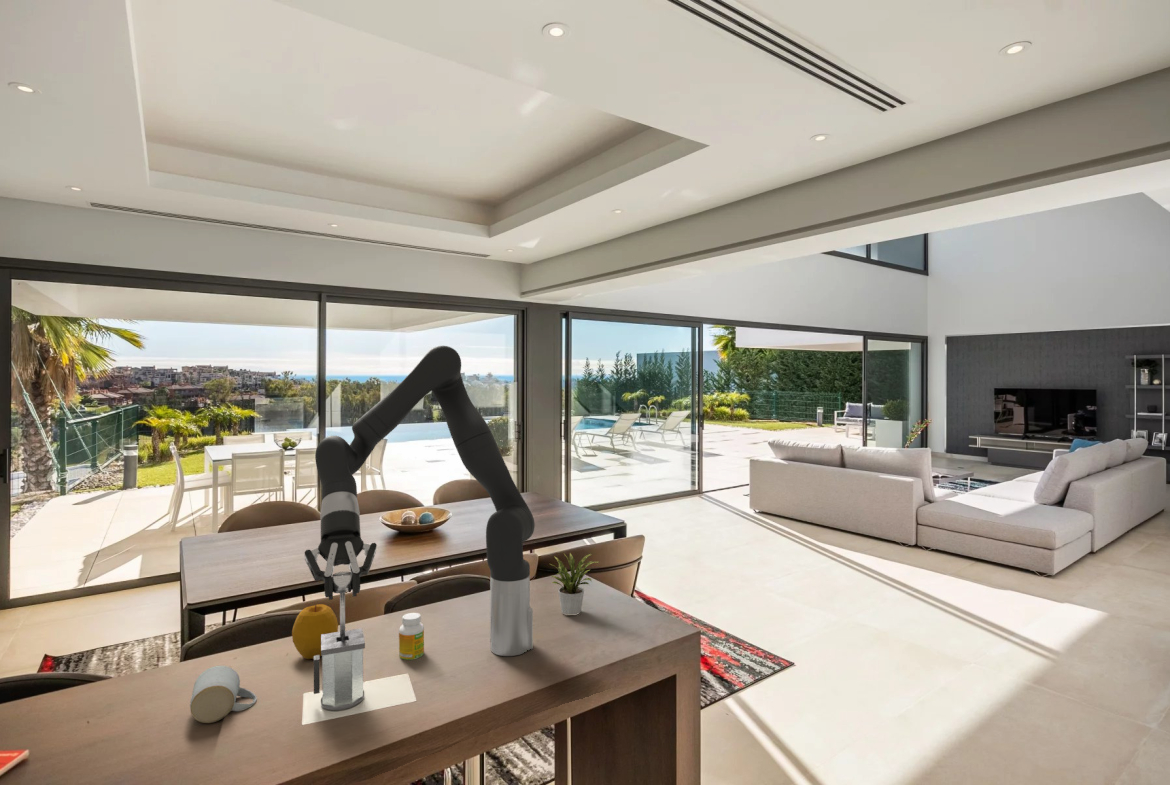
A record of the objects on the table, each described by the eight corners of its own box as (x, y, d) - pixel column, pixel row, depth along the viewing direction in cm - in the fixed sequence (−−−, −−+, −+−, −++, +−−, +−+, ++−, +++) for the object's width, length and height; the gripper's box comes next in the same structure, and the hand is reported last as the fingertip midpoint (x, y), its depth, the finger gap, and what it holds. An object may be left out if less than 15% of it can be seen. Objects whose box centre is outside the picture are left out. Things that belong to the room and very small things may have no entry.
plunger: (356, 640, 118) (356, 568, 118) (358, 651, 114) (358, 576, 113) (327, 645, 116) (326, 572, 116) (327, 656, 111) (327, 580, 111)
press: (362, 686, 120) (362, 627, 120) (365, 705, 113) (365, 643, 113) (314, 696, 116) (313, 635, 116) (313, 716, 109) (313, 651, 109)
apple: (319, 668, 130) (319, 615, 130) (281, 663, 132) (281, 611, 132) (346, 649, 139) (346, 599, 139) (310, 645, 142) (310, 596, 141)
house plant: (606, 605, 168) (606, 547, 167) (596, 624, 154) (596, 561, 154) (557, 601, 171) (557, 544, 171) (543, 619, 157) (543, 558, 157)
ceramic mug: (188, 730, 107) (188, 688, 107) (193, 708, 114) (194, 668, 114) (255, 716, 111) (256, 675, 111) (257, 696, 119) (257, 658, 119)
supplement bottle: (416, 665, 132) (416, 621, 132) (394, 662, 133) (394, 619, 133) (428, 654, 137) (428, 612, 137) (406, 652, 138) (406, 610, 138)
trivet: (407, 678, 126) (407, 673, 126) (416, 706, 115) (416, 700, 115) (303, 698, 118) (303, 693, 118) (302, 730, 107) (302, 725, 107)
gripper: (375, 525, 129) (380, 600, 118) (303, 532, 123) (301, 611, 112) (377, 506, 124) (383, 581, 113) (302, 511, 118) (301, 592, 107)
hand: (342, 595), depth 113 cm, fingers closed on plunger, 3 cm apart
